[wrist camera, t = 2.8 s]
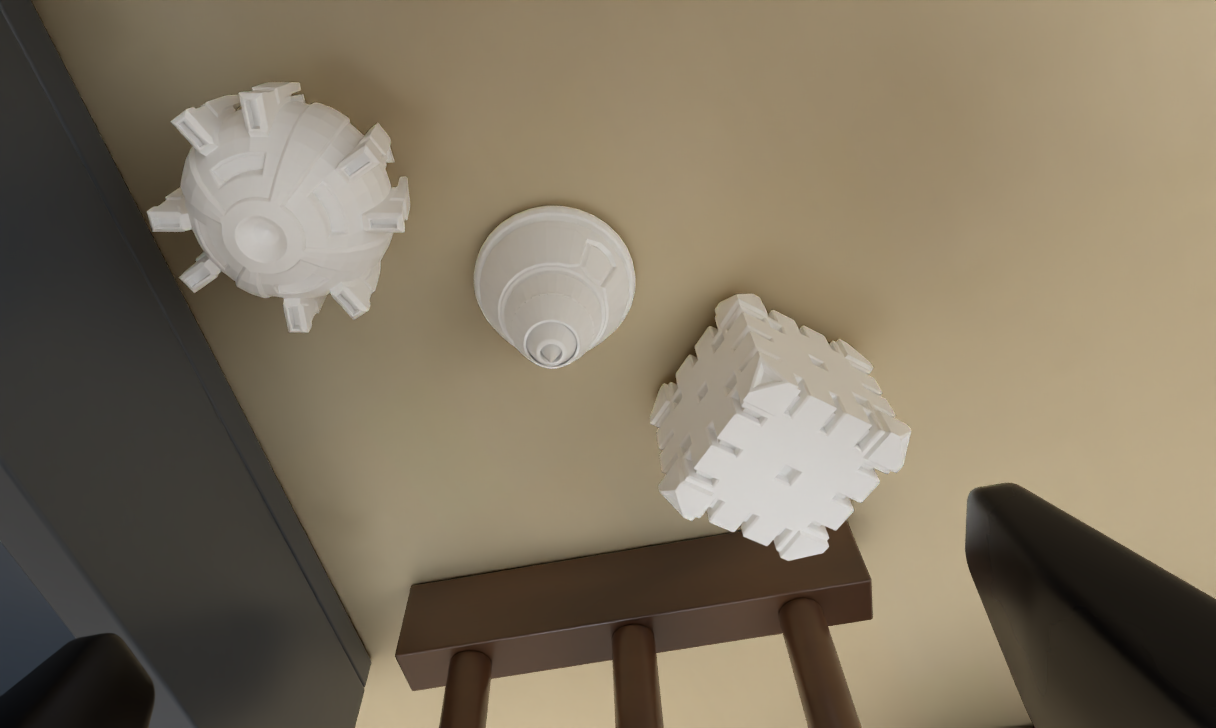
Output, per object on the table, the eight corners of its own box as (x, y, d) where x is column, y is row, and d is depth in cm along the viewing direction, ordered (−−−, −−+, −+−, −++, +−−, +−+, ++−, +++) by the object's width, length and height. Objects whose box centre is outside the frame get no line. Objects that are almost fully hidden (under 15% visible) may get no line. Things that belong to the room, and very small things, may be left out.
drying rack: (794, -376, 10) (1041, -655, 5) (846, 552, 19) (960, 837, 13) (61, -198, 11) (-450, -264, 6) (426, 619, 20) (366, 918, 14)
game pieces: (865, 342, 16) (925, 441, 13) (768, 462, 17) (804, 573, 15) (254, 24, 13) (165, 67, 10) (197, 205, 14) (105, 286, 11)
